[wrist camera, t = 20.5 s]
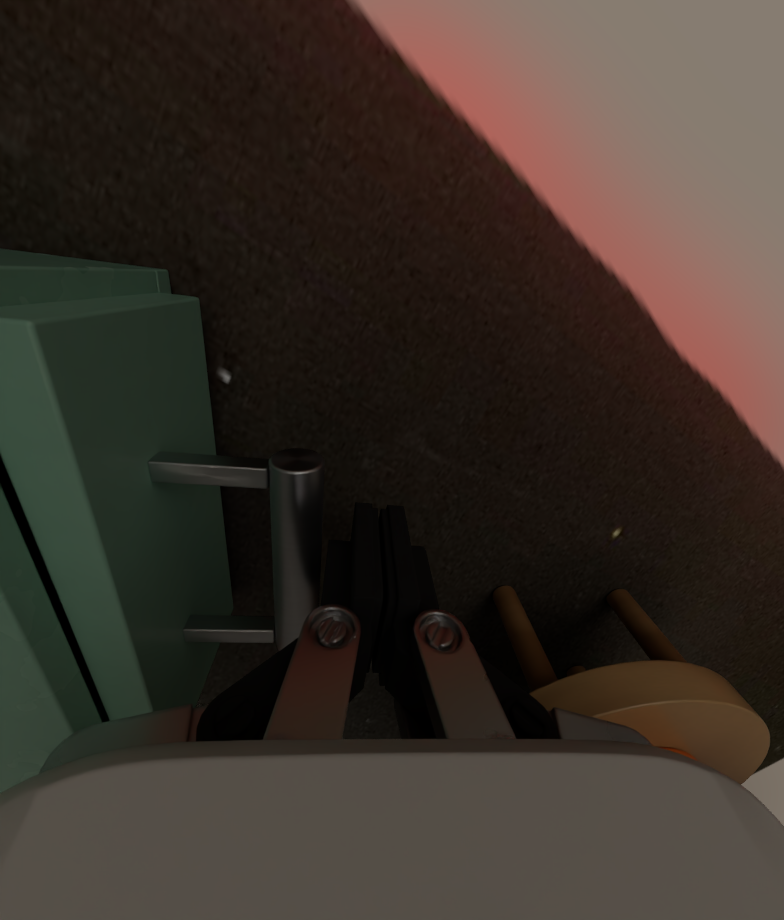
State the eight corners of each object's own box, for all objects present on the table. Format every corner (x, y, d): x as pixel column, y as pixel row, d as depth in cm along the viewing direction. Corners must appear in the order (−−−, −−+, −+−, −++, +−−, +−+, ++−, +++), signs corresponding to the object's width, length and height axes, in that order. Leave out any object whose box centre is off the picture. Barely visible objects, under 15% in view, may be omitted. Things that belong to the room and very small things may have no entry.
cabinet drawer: (339, 313, 11) (319, 351, 6) (324, 609, 17) (307, 768, 12) (-330, 233, 9) (-1368, 171, 4) (-85, 601, 15) (-341, 789, 10)
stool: (598, 695, 24) (679, 839, 18) (425, 697, 23) (449, 854, 17) (683, 560, 19) (839, 699, 13) (464, 551, 18) (521, 703, 11)
